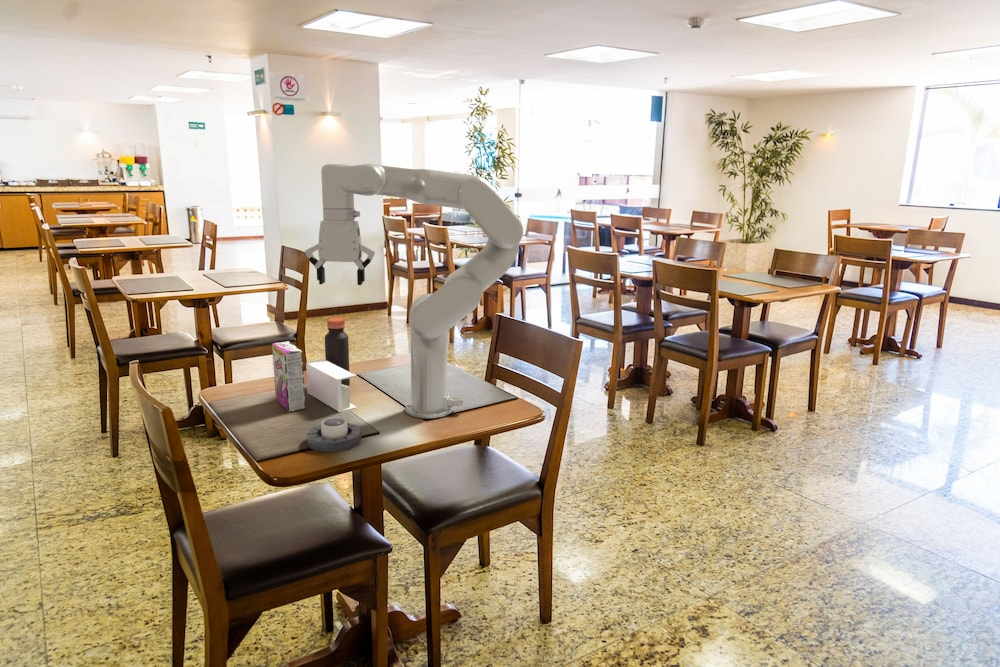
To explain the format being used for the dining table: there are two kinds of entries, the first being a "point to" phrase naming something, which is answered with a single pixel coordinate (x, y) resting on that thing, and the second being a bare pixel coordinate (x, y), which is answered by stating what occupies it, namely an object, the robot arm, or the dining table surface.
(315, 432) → the gray notched ring
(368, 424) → the dining table surface
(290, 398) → the candy bar box
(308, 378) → the long white box
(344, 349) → the bottle
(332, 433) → the white short cylinder
